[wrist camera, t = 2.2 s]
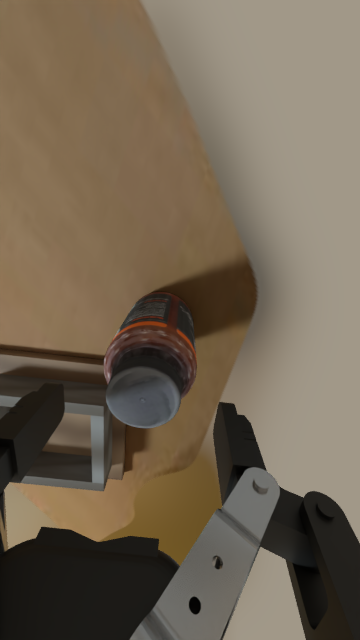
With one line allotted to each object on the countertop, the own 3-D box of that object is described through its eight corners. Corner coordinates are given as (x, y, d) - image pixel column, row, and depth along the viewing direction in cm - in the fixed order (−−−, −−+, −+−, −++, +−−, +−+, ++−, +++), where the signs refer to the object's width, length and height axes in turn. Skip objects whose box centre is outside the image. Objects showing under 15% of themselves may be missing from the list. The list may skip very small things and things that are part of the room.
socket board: (-10, 347, 25) (-45, 369, 21) (128, 362, 25) (118, 386, 21) (12, 461, 30) (-13, 493, 27) (124, 472, 31) (115, 506, 27)
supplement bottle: (117, 314, 23) (59, 388, 12) (167, 276, 22) (149, 325, 11) (157, 358, 25) (135, 458, 14) (205, 326, 23) (222, 410, 13)
